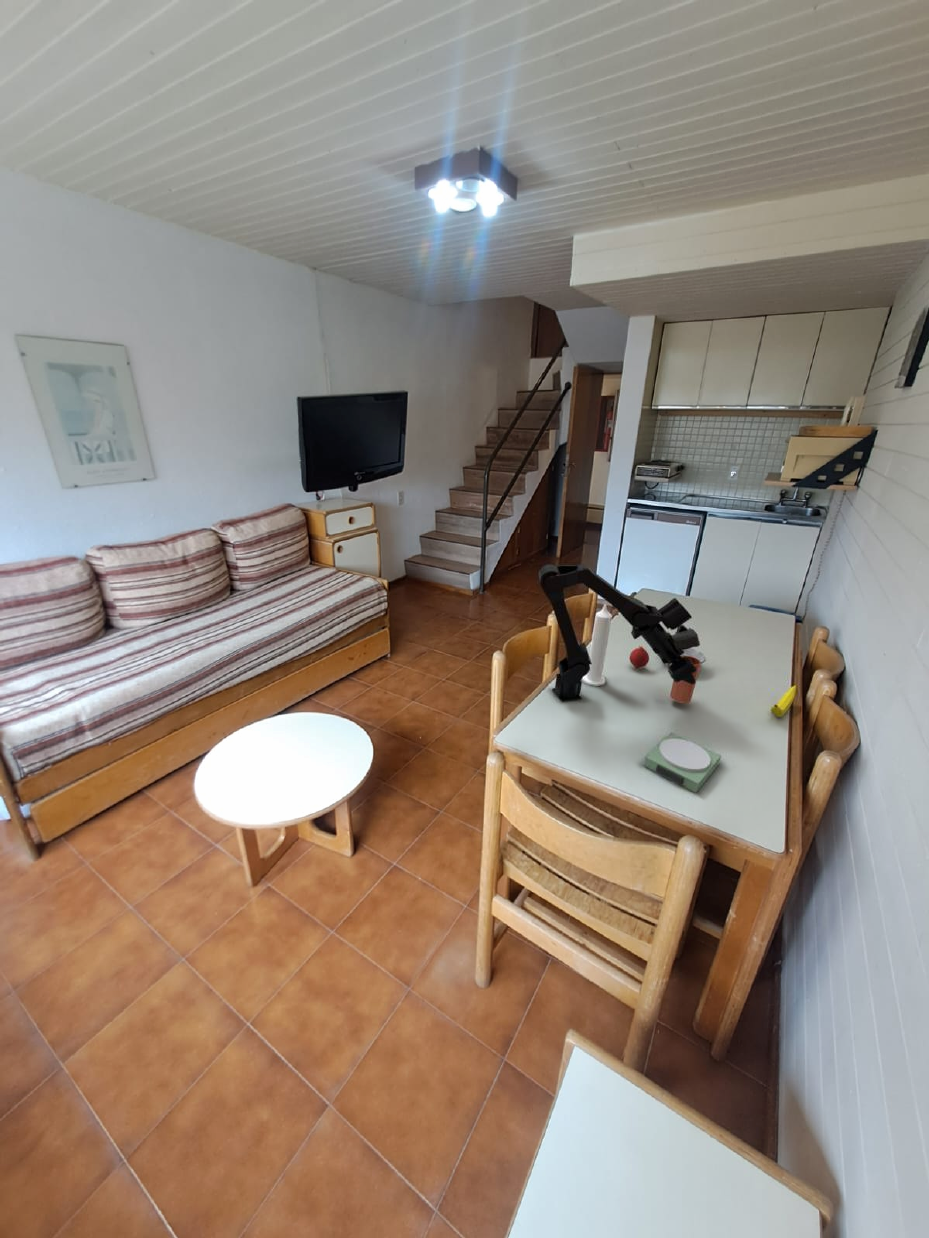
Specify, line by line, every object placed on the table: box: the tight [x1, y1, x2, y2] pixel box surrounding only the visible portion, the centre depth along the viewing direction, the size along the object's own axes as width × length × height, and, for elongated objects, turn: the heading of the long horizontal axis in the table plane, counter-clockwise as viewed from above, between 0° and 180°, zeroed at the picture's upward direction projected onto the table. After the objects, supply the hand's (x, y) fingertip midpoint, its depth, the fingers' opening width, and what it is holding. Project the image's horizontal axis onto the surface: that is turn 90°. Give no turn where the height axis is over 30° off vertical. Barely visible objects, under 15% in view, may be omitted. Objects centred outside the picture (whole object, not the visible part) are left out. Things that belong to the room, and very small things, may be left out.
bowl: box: [667, 648, 707, 668], centre depth 159 cm, size 13×13×5 cm
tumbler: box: [669, 656, 702, 704], centre depth 137 cm, size 6×6×12 cm
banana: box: [770, 685, 797, 718], centre depth 136 cm, size 3×19×6 cm, turn 134°
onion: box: [629, 645, 650, 670], centre depth 157 cm, size 6×6×8 cm
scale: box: [643, 731, 722, 793], centre depth 114 cm, size 14×12×3 cm
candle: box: [581, 603, 613, 687], centre depth 145 cm, size 7×7×25 cm
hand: (690, 677), depth 136 cm, fingers closed on tumbler, 5 cm apart
